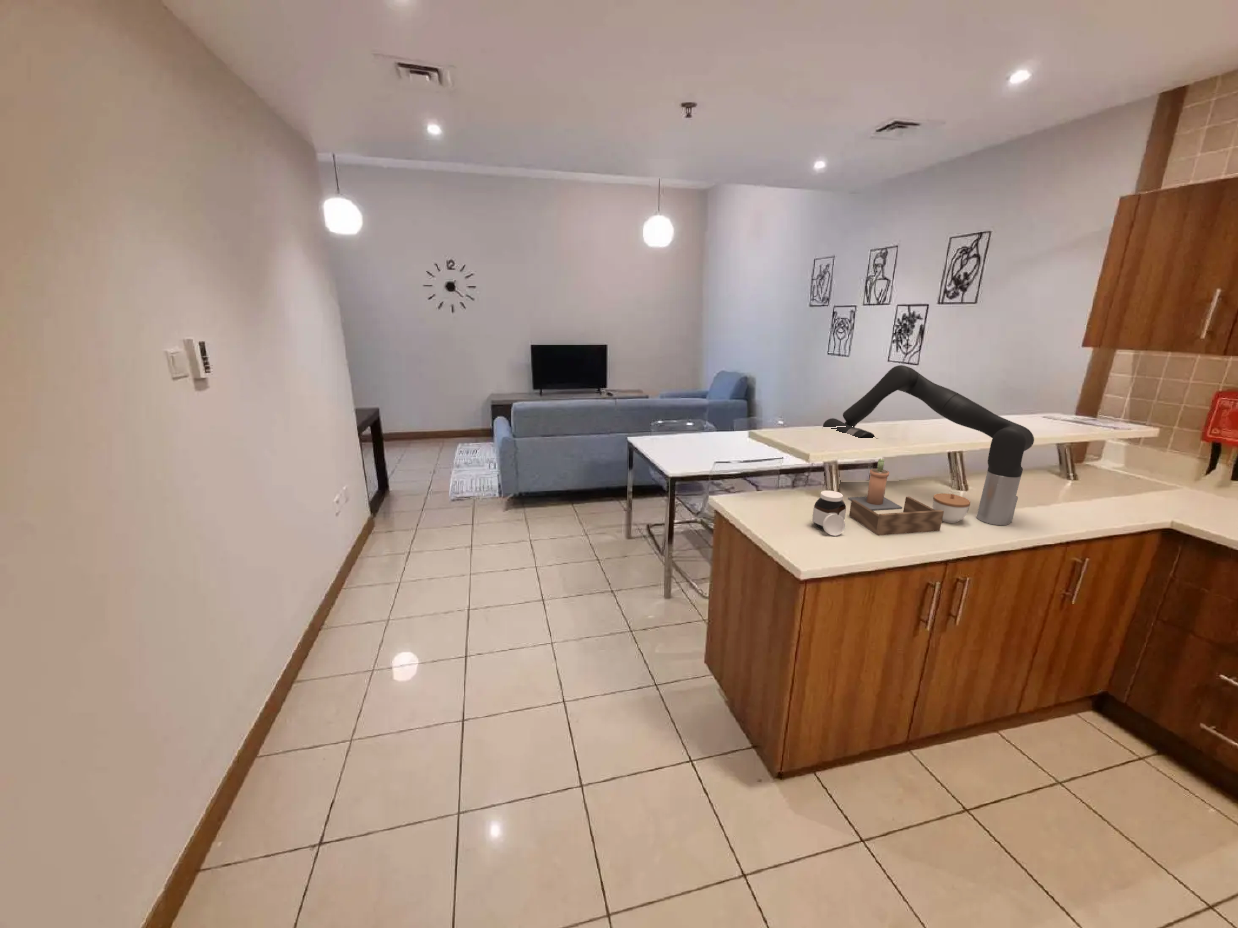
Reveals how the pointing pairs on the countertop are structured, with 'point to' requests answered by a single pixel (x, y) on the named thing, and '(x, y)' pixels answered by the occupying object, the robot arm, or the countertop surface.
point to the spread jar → (830, 512)
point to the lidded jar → (951, 506)
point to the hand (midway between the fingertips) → (887, 450)
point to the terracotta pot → (877, 484)
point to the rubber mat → (885, 506)
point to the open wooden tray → (898, 518)
